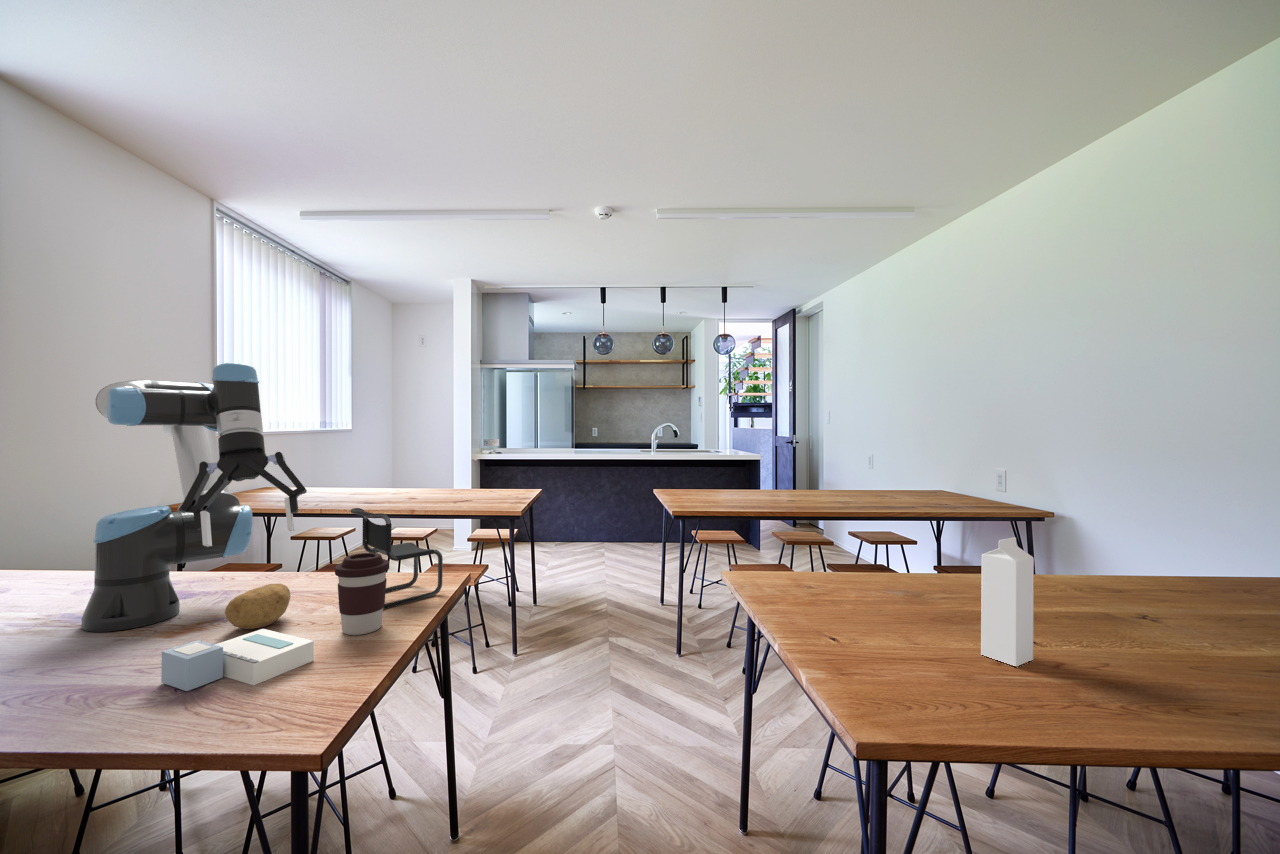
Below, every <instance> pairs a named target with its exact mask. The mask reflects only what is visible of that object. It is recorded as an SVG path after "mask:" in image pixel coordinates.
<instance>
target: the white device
mask: <svg viewBox="0 0 1280 854" xmlns="http://www.w3.org/2000/svg"><path fill="white" fill-rule="evenodd" d="M314 643H315V642H314V640H311V639H307V638H302V637H299V636H295V635H290V634H287V633H282V632H278V631H274V630H270V629H266V628H259V629H258V630H255V631H252V632H249V633H245V634H243V635H239V636H237V637H234V638H233V637H232V638H230V639H227V640H224V641H222V642H218V643H215V644H214V645H217V646H221V647H223V678H224V677H225V678H228V679H231V680H233V681H238V682H241V683H245V684H247V685H250V686H257V685H258V684H261V683H263V682H265V681H268V680H270V679H272V678H275V677H277V676H280V675H283V674H285V673H287V672H290V671H292V670H294V669H296V668H299V667H302V666H304V665H306V664H309V663H311V662H314V654H315V653H314V651H315V650H314V648H315V647H314Z"/></svg>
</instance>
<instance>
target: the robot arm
mask: <svg viewBox="0 0 1280 854" xmlns="http://www.w3.org/2000/svg"><path fill="white" fill-rule="evenodd" d="M211 382H212V383H213V384H211V383H204V382H199V381H196V382H195V381H194V382H188V381H187V382H185V381H183V382H182V381H167V380H152V379H151V380H150V379H133V380H124V381H117V382H114V383H111V384H108V385H106V386H104V387H103V388H102V389H100V390H99V391H98V393H97V394H96V397H95V406H96V409H97V411H98V412H99V413H100V414H101V415H102V416H103V417H104V418H106V419H107V421H108V423H110V424H111V425H114V426H115V425H116V426H117V425H118V426H127V427H128V426H129V427H136V426H162V429H163V431H164V433H166V434H167V435H169V436H170V437H172V439H173V440H172V441H173V446H174V452H175V457H176V463H177V467H178V473H179V479H180V484H181V491H182V495H183V501H182V503H180V505H179V506H178V508H177V511H172V509H171V507H170V506H168V505H157V506H146V507H140V508H134V509H128V510H127V509H126V510H123V511H119V512H116V513H112V514H108V515H105V516H104V517H102V518H100V519H99V520H98V521H97V522H96V524H95V533H94V539H93V543H94V544H95V545H94V546H95V548H94V551H95V552H94V587H93V590H92V593H91V595H90V598H89V600H88V601H87V604H86V606H85V609H84V612H83V613H82V616H81V629H82V630H83V631H85V632H90V633H91V632H92V633H93V632H94V633H106V632H115V631H118V632H119V631H123V630H129V629H136V628H140V627H145V626H149V625H154V624H156V623H157V624H158V623H159V622H163V621H165V620H168V619H171V618H173V617H175V616H176V615H178V614H179V613H180V609H181V608H180V605H181V604H180V599H179V597H178V593H176V590H175V588H174V585H173V583H172V581H171V579H170V567H171V566H172V565H178V564H185V563H191V562H198V561H207V560H213V559H220V558H223V559H225V558H226V557H230V556H231V557H232V556H237V555H240V554H243V553H245V551H246V550H247V549H248V547H249V545H250V541H251V537H252V531H253V510H252V507H251V506H249V505H246V504H242V505H241V504H240V499H239V498H238V497H237V495H235V494H233V493H230V490H229V485H230V484H231V483H232V481H235V482H242V481H245V480H256V479H258V477H261V478H263V479H264V480H266V481H267V482H269V484H271V485H273V486H275V487H276V489H278V490H280V491H281V492H282V493H284V494H285V495H286V497H284V506H285V507H284V509H285V515H286V516H285V517H286V524H287V525H286V526H287V530H288V531H290V532H293V531H295V523H294V514H298V513H299V504H298V497H300V496H302V495H305V494H306V493H307V492H308V491H307V489H306V487H305V485H303V483H302V482H301V481H300V480H299V478H298V477H297V476H296V475H295V473H294V472H293V471H292V469H290V467H289V466H288V464H287V463H286V460H285V459H286V458H285V455H284V454H283V453H282V452H281V451H276V452H275V453H274V454H271V455H267V453H266V448H265V438H264V435H263V433H264V428H263V418H262V416H263V415H262V411H261V400H260V390H259V384H260V381H259V380H258V375H257V370H256V368H254V367H253V366H252V365H251V364H249V363H245V362H244V363H243V362H236V361H235V362H223V363H220V364H217V365H216V366H215V367H214V368H213V370H212V378H211ZM216 432H217V433H216ZM216 434H217V435H218V438H217V435H216ZM269 462H272V463H273V465H275V466H277V465H278V466H279V468H280V469H281V471H282V472H283V473H284V474H285V476H286V477H287V478H288V479H289V480H290V482H291V483H292V485H293V486H294V487H295V489H292V488H290V487H289V486H287V484H285V483H283V482H282V481H280V479H278V478H277V477H276V476H274V475H273V474H271V473H270V472H269V471H268V470H267V469H266V467H267V466H268V464H269Z"/></svg>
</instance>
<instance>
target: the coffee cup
mask: <svg viewBox="0 0 1280 854" xmlns="http://www.w3.org/2000/svg"><path fill="white" fill-rule="evenodd" d="M389 570H390V561H389V560H388V559H385V558H383V556H382V553H379V552H378V553H369V552H362V553H361V552H360V553H354V554H350V555H347V556H345V557H343V560H342V561H341V563H338V564H336V565H335V567H334V575H335V576H337V578H338V583H337V594H338V595H337V596H338V611H339V614H340V622H341V632H342V634H344V635H348V636H360V635H367V634H370V633H373V632H376V631H377V630H379V629H380V628H381V627H382V625H383V614H384V609H383V607H384V605H385V604H386V593H387V592H386V588H387V572H388V571H389Z"/></svg>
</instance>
